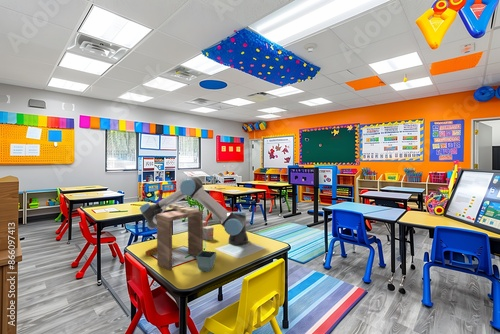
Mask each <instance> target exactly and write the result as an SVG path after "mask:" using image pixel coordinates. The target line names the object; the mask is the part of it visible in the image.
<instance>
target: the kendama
mask: <svg viewBox="0 0 500 334" xmlns="http://www.w3.org/2000/svg"><path fill="white" fill-rule="evenodd" d="M155 251H157V246H156V247H153V248H150V249H148V250H146V251H145V255H146V256H150V255H151V254H152V253H155Z"/></svg>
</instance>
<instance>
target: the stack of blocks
mask: <svg viewBox="0 0 500 334" xmlns="http://www.w3.org/2000/svg"><path fill="white" fill-rule="evenodd" d="M213 239H214V227H213V226H210V225H208V221H205V220H203V240H206V241H209V240H213Z"/></svg>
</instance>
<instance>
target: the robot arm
mask: <svg viewBox="0 0 500 334" xmlns="http://www.w3.org/2000/svg"><path fill="white" fill-rule="evenodd" d="M203 185H204V184H203V181H202V179H200V178H199V177H190V178H185V179H183V181H181V183H180V185H179V189H178V190H176V191H174V192H172V193H171V194H169V195H168V196H166V197H164V198H162V199H160V200H159V201H157V202H156V203H153V204H150V203H149V202H146V203H144V204H142V205H141V206H140V207H139V211H140V213H141V214H142V216H143V217H144V218H145V221H146V222H147V223H146V226H147V228H148V229H149V230H155V229H157V218H156V214H160V213H166V212H171V211H178V210H176V209H172V208H171V209H168V210H167V208H169V204H175V203H177V202H179V201H181V200H182V199H184V198H186V197H189V198H191V199H192V200H196V201H197V202H198V203H199V204H200V205H202V206H203V207H204V208H205V209H206V210H207V211H208V212H209V213H211V214H212V215H213V217H215V218H216V219H218V221H220V225H221V226H222V228H224V231H225V232H226V234H227V235H229V236H228V244H230V245H234V246H242V245H243V244H244V245H247V244H248V243H249V237H248V236H249V235H248V234H247V214H246V212H245V211H228V210H227V209H226V207H224V206H222V205H221V203H220V202H218V201H217V200H216V199H215V198H213V197H212V196H211V195H210V194H209V193H208V192H207V191H205V188H204V186H203ZM179 205H180V206H185V205H184V202H181V203H180V204H179ZM246 243H247V244H246Z"/></svg>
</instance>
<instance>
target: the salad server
mask: <svg viewBox="0 0 500 334" xmlns="http://www.w3.org/2000/svg"><path fill="white" fill-rule="evenodd" d="M168 208H169V209H171V210H172V209H176V210H180V212H184V213H188V214H190V213H195V212H199V208H198V207H197V208H196V207H192V206H185V205H184V206H180V204H175V203H174V204H169V207H168Z"/></svg>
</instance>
